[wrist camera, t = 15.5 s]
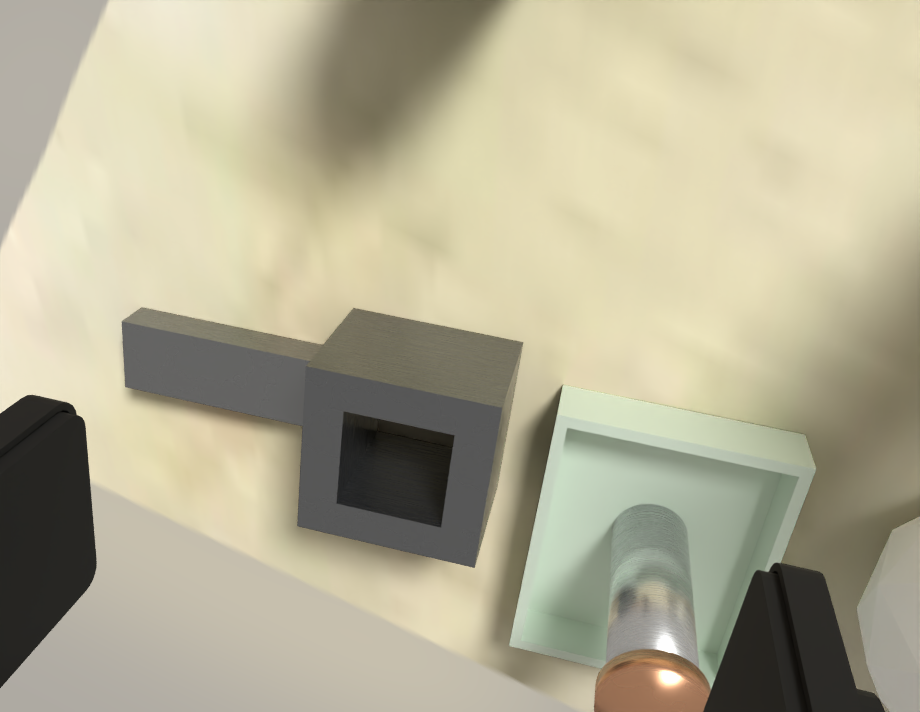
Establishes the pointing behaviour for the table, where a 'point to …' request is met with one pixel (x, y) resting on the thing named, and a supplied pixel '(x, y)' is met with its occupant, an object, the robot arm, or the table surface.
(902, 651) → the geodesic sphere
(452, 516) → the hitch block
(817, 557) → the table surface
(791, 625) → the robot arm
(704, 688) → the pin
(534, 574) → the tray
